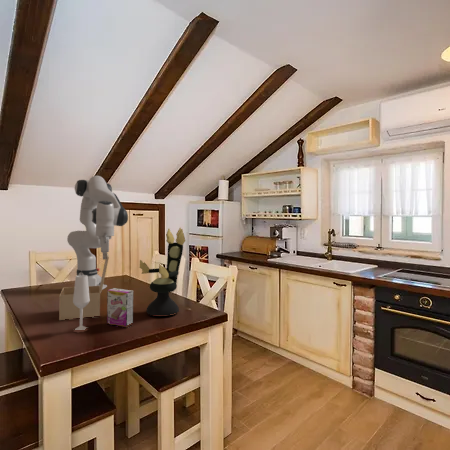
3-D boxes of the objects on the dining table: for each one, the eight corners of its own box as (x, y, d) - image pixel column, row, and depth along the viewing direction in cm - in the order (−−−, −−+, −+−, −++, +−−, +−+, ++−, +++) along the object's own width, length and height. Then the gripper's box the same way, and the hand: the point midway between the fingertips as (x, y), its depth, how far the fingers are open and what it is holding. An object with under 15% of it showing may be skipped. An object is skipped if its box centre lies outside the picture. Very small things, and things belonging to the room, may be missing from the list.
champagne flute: (86, 333, 137) (86, 277, 136) (70, 333, 137) (70, 277, 136) (91, 327, 144) (92, 274, 143) (76, 327, 144) (76, 274, 143)
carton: (59, 320, 152) (59, 295, 151) (62, 310, 167) (62, 287, 166) (99, 316, 159) (100, 292, 158) (99, 307, 173) (100, 285, 173)
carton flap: (107, 256, 159) (108, 257, 159) (106, 252, 173) (108, 253, 174) (100, 292, 158) (101, 292, 158) (100, 285, 173) (101, 285, 173)
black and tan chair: (137, 312, 167) (138, 226, 165) (170, 304, 184) (172, 226, 182) (159, 321, 155) (161, 228, 153) (192, 311, 171) (195, 227, 170)
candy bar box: (106, 325, 147) (106, 290, 147) (113, 321, 152) (113, 287, 152) (126, 328, 144) (127, 292, 143) (133, 325, 149) (133, 290, 148)
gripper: (112, 234, 157) (111, 262, 157) (110, 231, 176) (110, 256, 176) (98, 233, 154) (97, 262, 155) (98, 231, 173) (98, 256, 174)
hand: (104, 259), depth 166 cm, fingers closed, pressing on carton flap
